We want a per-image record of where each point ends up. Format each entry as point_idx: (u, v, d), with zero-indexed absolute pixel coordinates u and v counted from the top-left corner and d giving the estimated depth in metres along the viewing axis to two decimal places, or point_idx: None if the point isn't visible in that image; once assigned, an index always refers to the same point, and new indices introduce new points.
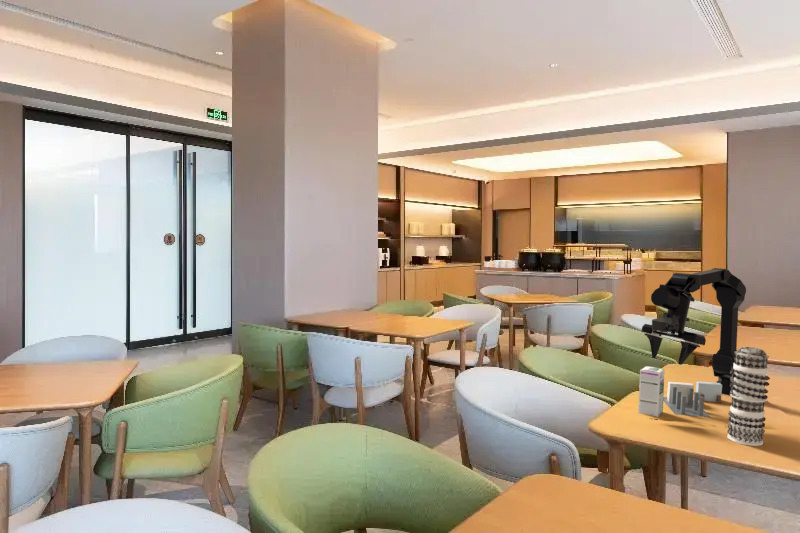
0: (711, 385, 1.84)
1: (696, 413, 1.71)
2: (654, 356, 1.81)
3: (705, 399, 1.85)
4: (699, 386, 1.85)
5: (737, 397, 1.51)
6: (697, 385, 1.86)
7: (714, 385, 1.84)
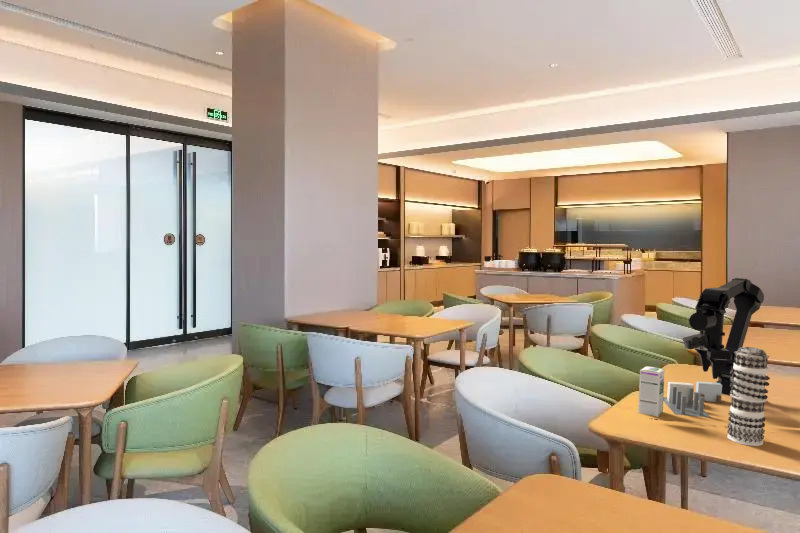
0: (711, 385, 1.84)
1: (696, 413, 1.71)
2: (705, 370, 1.90)
3: (705, 399, 1.85)
4: (699, 386, 1.85)
5: (737, 397, 1.51)
6: (697, 385, 1.86)
7: (714, 385, 1.84)
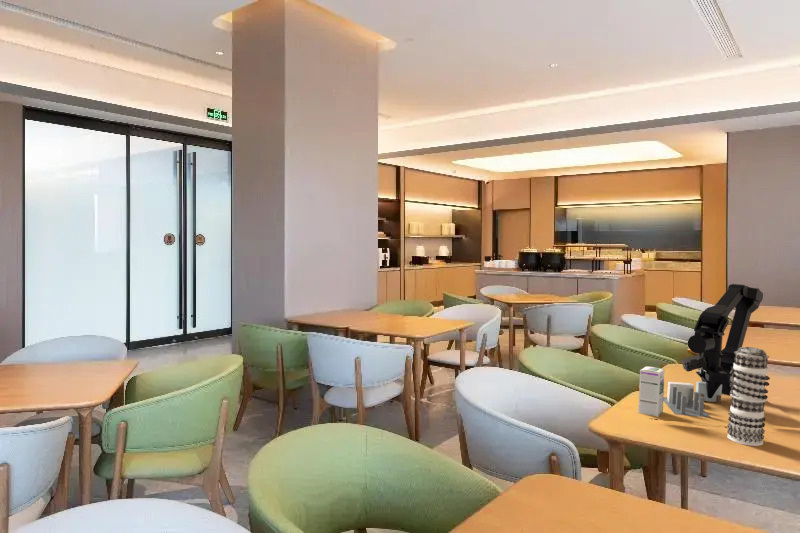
0: None
1: (696, 413, 1.71)
2: None
3: (705, 399, 1.85)
4: (699, 386, 1.85)
5: (737, 397, 1.51)
6: (697, 385, 1.86)
7: None
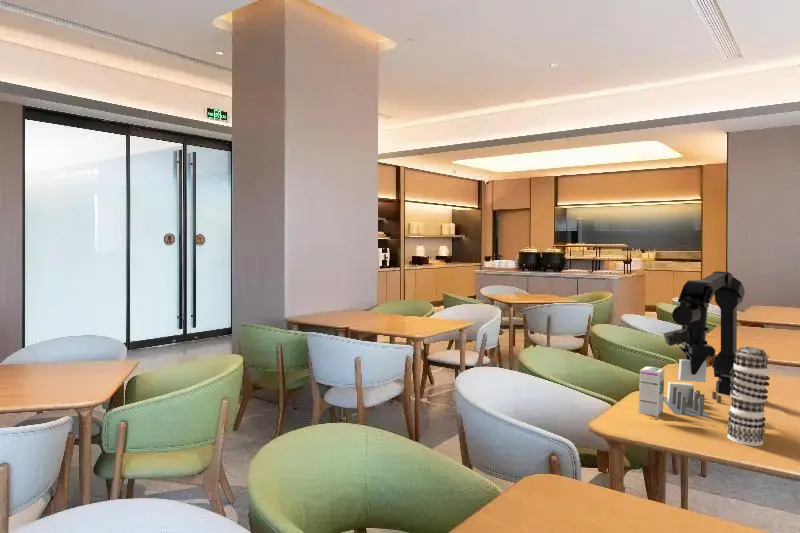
0: None
1: (696, 413, 1.71)
2: None
3: (688, 378, 1.72)
4: (682, 364, 1.72)
5: (737, 397, 1.51)
6: (680, 363, 1.73)
7: None
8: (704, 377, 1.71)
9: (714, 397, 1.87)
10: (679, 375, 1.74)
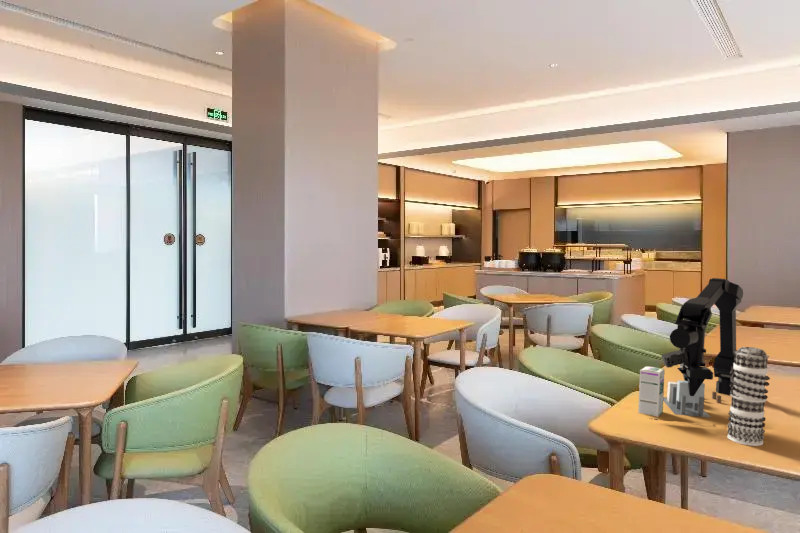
0: None
1: (696, 413, 1.71)
2: None
3: (687, 399, 1.72)
4: (680, 386, 1.72)
5: (737, 397, 1.51)
6: (678, 384, 1.73)
7: None
8: None
9: (714, 397, 1.87)
10: (677, 396, 1.74)
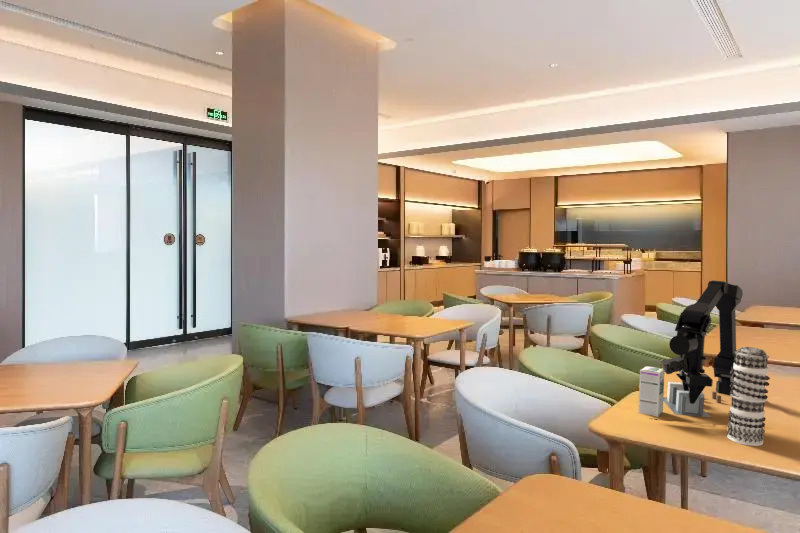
0: None
1: (696, 413, 1.71)
2: None
3: (686, 409, 1.72)
4: (680, 396, 1.72)
5: (737, 397, 1.51)
6: (677, 394, 1.73)
7: None
8: None
9: (714, 397, 1.87)
10: (676, 406, 1.74)
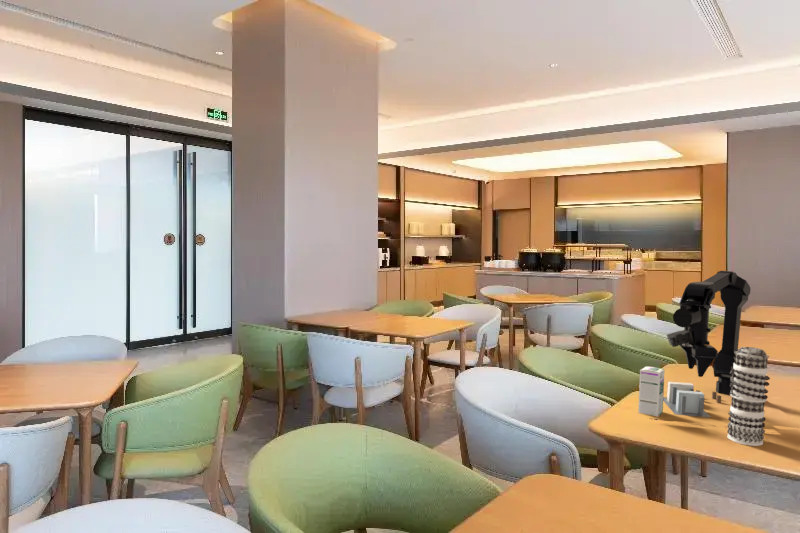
0: (692, 394, 1.72)
1: (696, 413, 1.71)
2: (690, 367, 1.83)
3: (686, 409, 1.72)
4: (680, 396, 1.72)
5: (737, 397, 1.51)
6: (677, 394, 1.73)
7: (695, 394, 1.71)
8: None
9: (714, 397, 1.87)
10: (676, 406, 1.74)
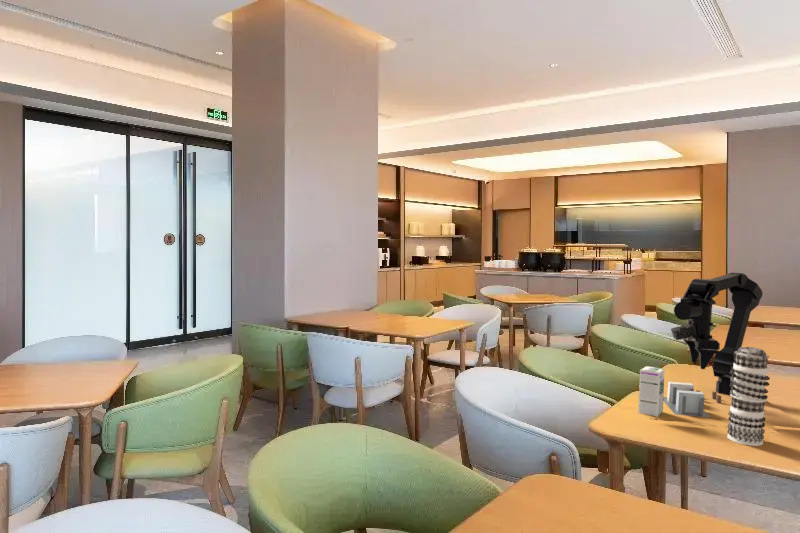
0: (692, 394, 1.72)
1: (696, 413, 1.71)
2: (693, 360, 1.89)
3: (686, 409, 1.72)
4: (680, 396, 1.72)
5: (737, 397, 1.51)
6: (677, 394, 1.73)
7: (695, 394, 1.71)
8: None
9: (714, 397, 1.87)
10: (676, 406, 1.74)
